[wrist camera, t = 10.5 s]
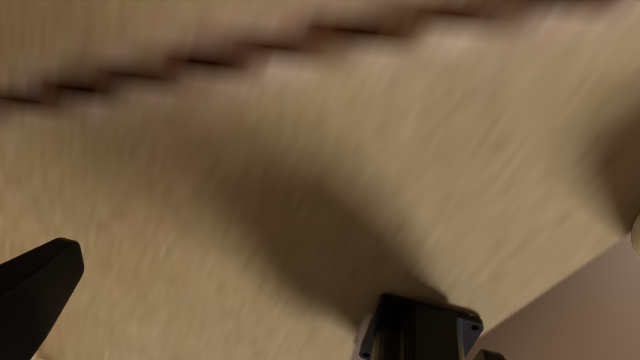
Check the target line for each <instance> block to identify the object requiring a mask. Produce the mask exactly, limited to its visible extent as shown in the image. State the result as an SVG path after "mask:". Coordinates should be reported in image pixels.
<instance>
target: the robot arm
mask: <svg viewBox="0 0 640 360" xmlns="http://www.w3.org/2000/svg"><path fill="white" fill-rule="evenodd" d="M83 272H84V262H83V257H82V252H81V248H80V244H79V243H78V242H77V241H74V240H70V239H67V238H56V239H54V240H51V241H49V242H47V243H45V244H43V245H41V246H39V247H36V248H34V249H32V250H30V251H28V252H26V253H24V254H22V255H19V256H17V257H15V258H13V259H11V260H9V261H7V262H4V263H2V264H0V360H31V358H32V357H33V356H34V354H35V353H36V351H37V350H38V349H39V347H40V346H41V344H42V343H43V341H44V340H45V339H46V337H47V335H48V334H49V332H50V331H51V329H52V327H53V326H54V324H55V322H56V320H57V319H58V317H59V315H60V314H61V312H62V310H63V308H64V307H65V305H66V303H67V301H68V300H69V298H70V296H71V295H72V293H73V291H74V289H75V288H76V286H77V284H78V282H79V281H80V279H81V277H82V275H83ZM483 328H484V327H483V322H482V320H481V319H480V318H477V317H473V316H470V315H466V314H462V313H458V312H454V311H451V310H447V309H443V308H439V307H435V306H431V305H428V304H424V303H420V302H416V301H412V300H408V299H405V298H401V297H397V296H393V295H389V294H383V295H381V296H380V297H379V300H378V302H377V305H376V307H375V310H374V313H373V315H372V318H371V320H370V323H369V326H368V328H367V331H366V334H365V336H364V339H363V341H362V344H361V346H360V351H359V356H360V357H361V358H363V359H366V360H465V357H466V355H467V354H468V353H469V351H470V349H471V348H472V346H473V345H474V343H475V342H476V340H477V339H478V337H479V335H480V334H481V332H482V331H483ZM473 360H506V359H505V358H504V356H503V355H502V354H501V353H498V352H496V351H492V350H488V349H481V350H480V351H479V352H478V353H477V355H476V356H475V358H474V359H473Z"/></svg>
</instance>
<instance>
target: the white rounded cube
mask: <svg viewBox="0 0 640 360" xmlns="http://www.w3.org/2000/svg"><path fill="white" fill-rule="evenodd" d="M631 241H632V245H633V248H634V250H635V252H636V254H637V255H638V257H639V259H640V214H639V215H638V217H637V218H636V220H635V222H634V224H633V228H632V232H631Z"/></svg>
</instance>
